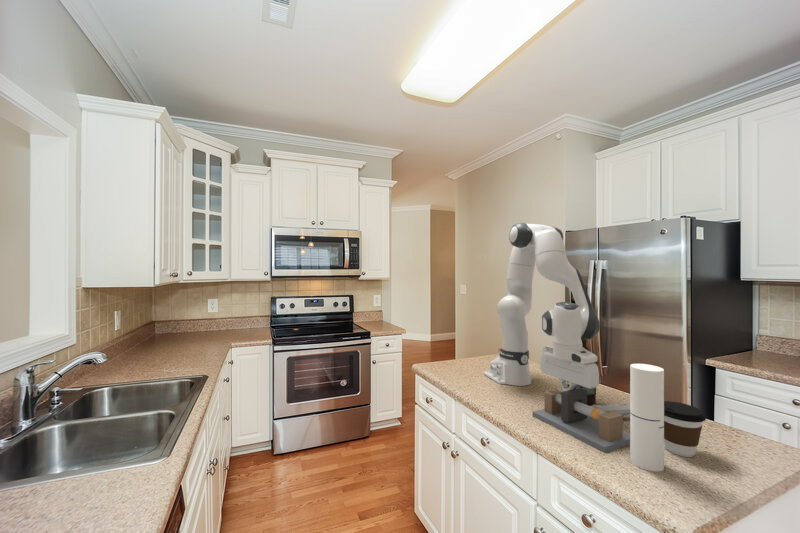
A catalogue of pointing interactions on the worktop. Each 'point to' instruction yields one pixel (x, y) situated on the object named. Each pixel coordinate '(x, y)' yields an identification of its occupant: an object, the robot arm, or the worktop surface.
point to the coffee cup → (682, 428)
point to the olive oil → (590, 392)
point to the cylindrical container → (647, 416)
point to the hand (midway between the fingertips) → (567, 393)
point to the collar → (567, 404)
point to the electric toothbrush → (615, 408)
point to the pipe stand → (586, 423)
